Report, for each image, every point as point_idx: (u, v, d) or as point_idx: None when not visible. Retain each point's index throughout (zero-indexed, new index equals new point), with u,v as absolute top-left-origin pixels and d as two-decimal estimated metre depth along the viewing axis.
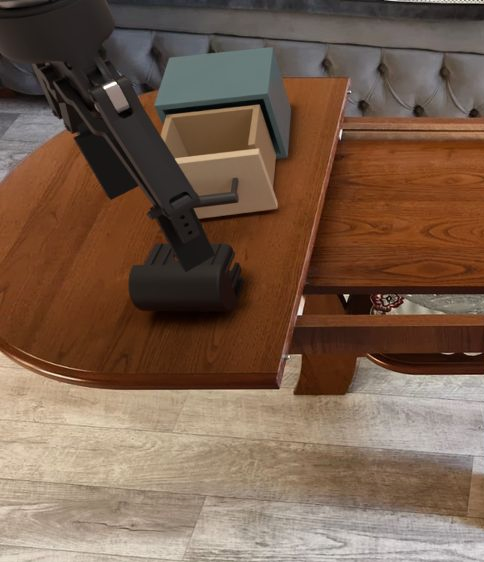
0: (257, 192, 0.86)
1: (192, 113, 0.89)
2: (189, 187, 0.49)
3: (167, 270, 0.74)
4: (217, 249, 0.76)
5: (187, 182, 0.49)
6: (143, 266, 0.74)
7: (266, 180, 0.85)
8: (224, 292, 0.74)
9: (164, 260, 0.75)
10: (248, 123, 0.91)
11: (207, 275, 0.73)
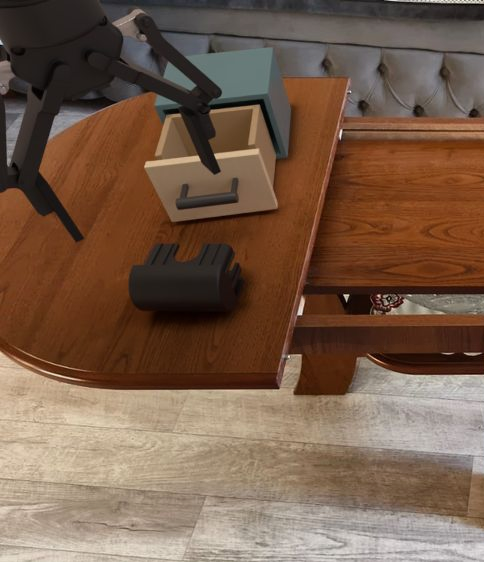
0: (257, 192, 0.86)
1: None
2: None
3: (167, 270, 0.74)
4: (217, 249, 0.76)
5: None
6: (143, 266, 0.74)
7: (266, 180, 0.85)
8: (224, 292, 0.74)
9: (164, 260, 0.75)
10: (248, 123, 0.91)
11: (207, 275, 0.73)
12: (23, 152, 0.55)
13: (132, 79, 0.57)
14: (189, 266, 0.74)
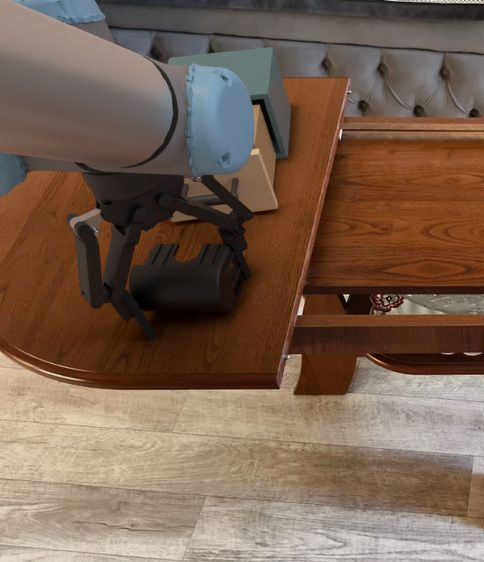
0: (257, 192, 0.86)
1: None
2: None
3: (167, 270, 0.74)
4: (217, 249, 0.76)
5: None
6: (143, 266, 0.74)
7: (266, 180, 0.85)
8: (224, 292, 0.74)
9: (164, 260, 0.75)
10: None
11: (207, 275, 0.73)
12: (113, 276, 0.69)
13: (189, 212, 0.70)
14: (189, 266, 0.74)
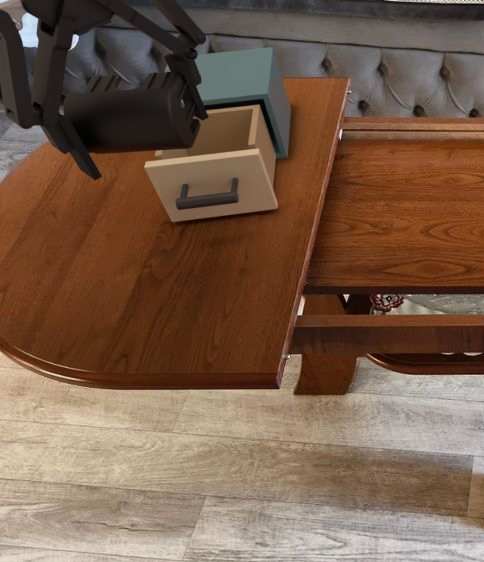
0: (257, 192, 0.86)
1: None
2: None
3: (108, 96, 0.64)
4: (166, 76, 0.67)
5: None
6: (80, 94, 0.64)
7: (266, 180, 0.85)
8: (178, 120, 0.65)
9: (104, 89, 0.65)
10: (248, 123, 0.91)
11: (156, 98, 0.64)
12: (43, 90, 0.59)
13: (130, 17, 0.61)
14: (134, 91, 0.64)
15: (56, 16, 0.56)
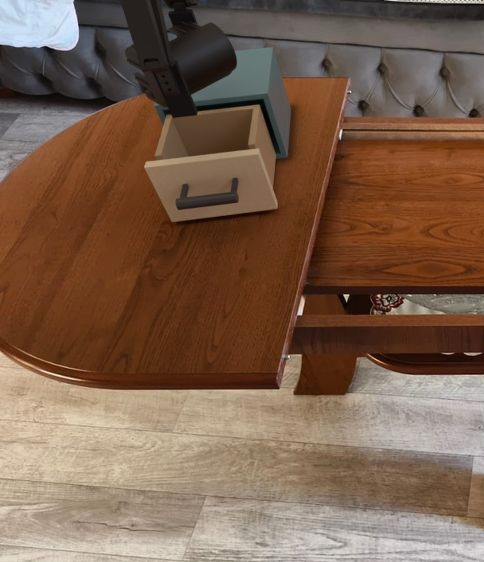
0: (257, 192, 0.86)
1: None
2: None
3: (173, 44, 0.77)
4: (188, 23, 0.81)
5: None
6: None
7: (266, 180, 0.85)
8: None
9: None
10: (248, 123, 0.91)
11: (210, 31, 0.79)
12: (159, 37, 0.71)
13: None
14: (187, 33, 0.78)
15: None
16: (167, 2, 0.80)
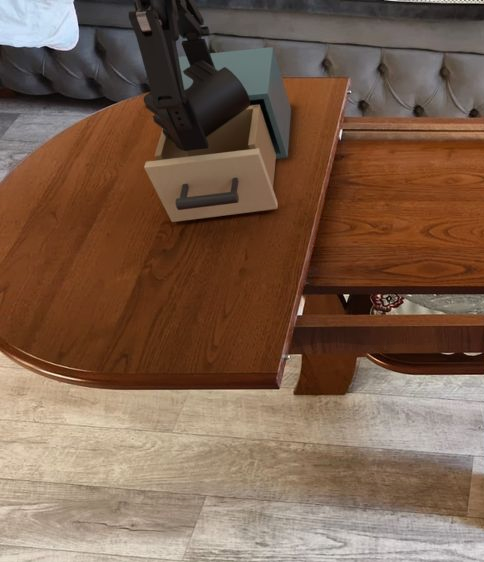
0: (257, 192, 0.86)
1: None
2: None
3: (191, 95, 0.80)
4: (201, 65, 0.84)
5: None
6: None
7: (266, 180, 0.85)
8: None
9: None
10: (248, 123, 0.91)
11: (225, 78, 0.82)
12: (173, 75, 0.74)
13: (186, 8, 0.79)
14: (203, 82, 0.81)
15: (167, 14, 0.73)
16: (181, 33, 0.84)
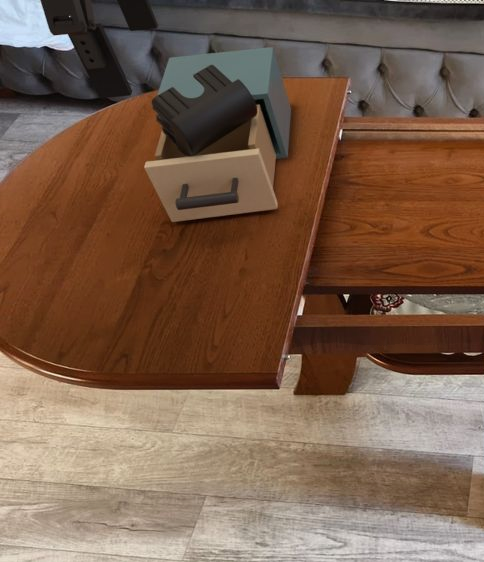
0: (257, 192, 0.86)
1: None
2: None
3: (204, 106, 0.81)
4: (212, 72, 0.83)
5: None
6: (181, 115, 0.79)
7: (266, 180, 0.85)
8: None
9: (185, 103, 0.81)
10: (248, 123, 0.91)
11: (238, 91, 0.83)
12: None
13: None
14: (216, 93, 0.82)
15: None
16: None
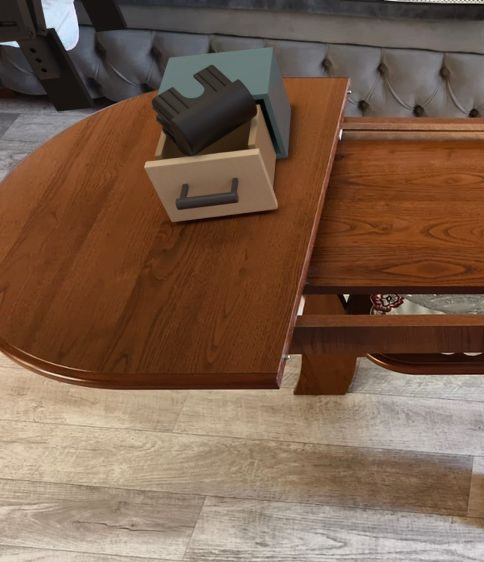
0: (257, 192, 0.86)
1: None
2: None
3: (204, 106, 0.81)
4: (212, 72, 0.83)
5: None
6: (181, 115, 0.79)
7: (266, 180, 0.85)
8: None
9: (185, 103, 0.81)
10: (248, 123, 0.91)
11: (238, 91, 0.83)
12: None
13: None
14: (216, 93, 0.82)
15: None
16: None
